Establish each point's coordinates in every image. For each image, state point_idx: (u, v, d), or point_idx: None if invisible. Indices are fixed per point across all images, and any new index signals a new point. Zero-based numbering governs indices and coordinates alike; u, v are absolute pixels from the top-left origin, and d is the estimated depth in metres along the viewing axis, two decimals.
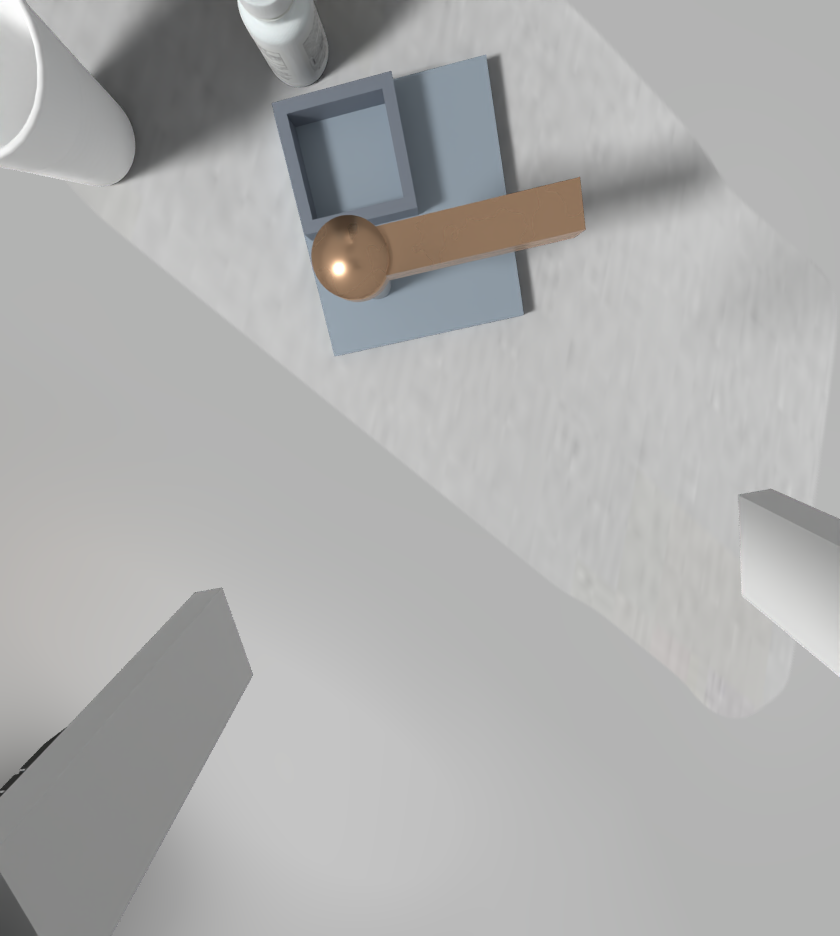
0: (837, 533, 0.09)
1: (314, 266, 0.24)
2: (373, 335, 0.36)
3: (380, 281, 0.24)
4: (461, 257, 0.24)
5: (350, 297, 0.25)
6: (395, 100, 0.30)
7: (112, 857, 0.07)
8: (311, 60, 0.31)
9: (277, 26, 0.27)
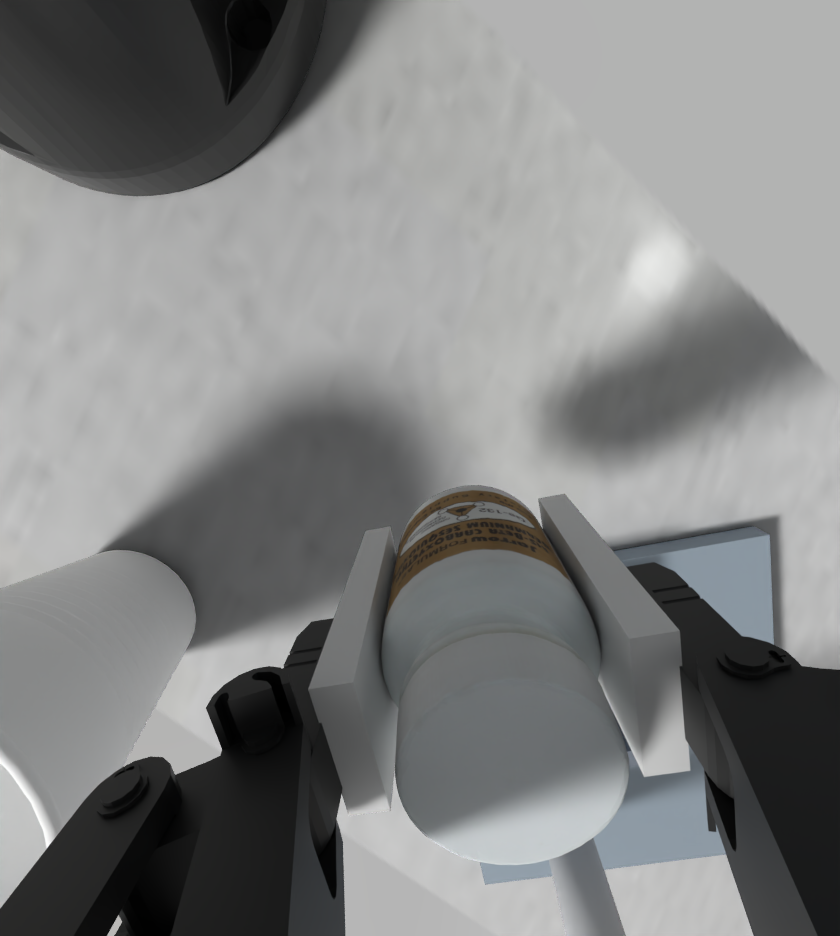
0: (572, 529, 0.11)
1: None
2: (546, 863, 0.24)
3: None
4: None
5: None
6: None
7: (386, 714, 0.09)
8: None
9: None
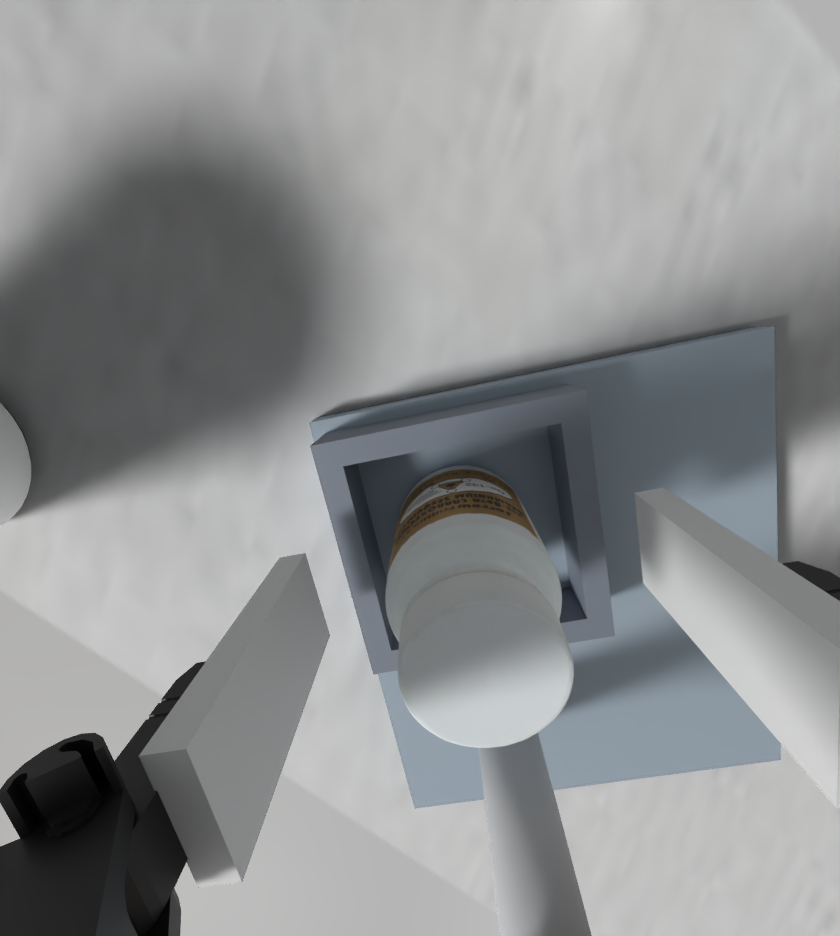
0: (695, 525, 0.10)
1: None
2: None
3: None
4: None
5: None
6: (588, 445, 0.14)
7: (254, 770, 0.08)
8: None
9: None
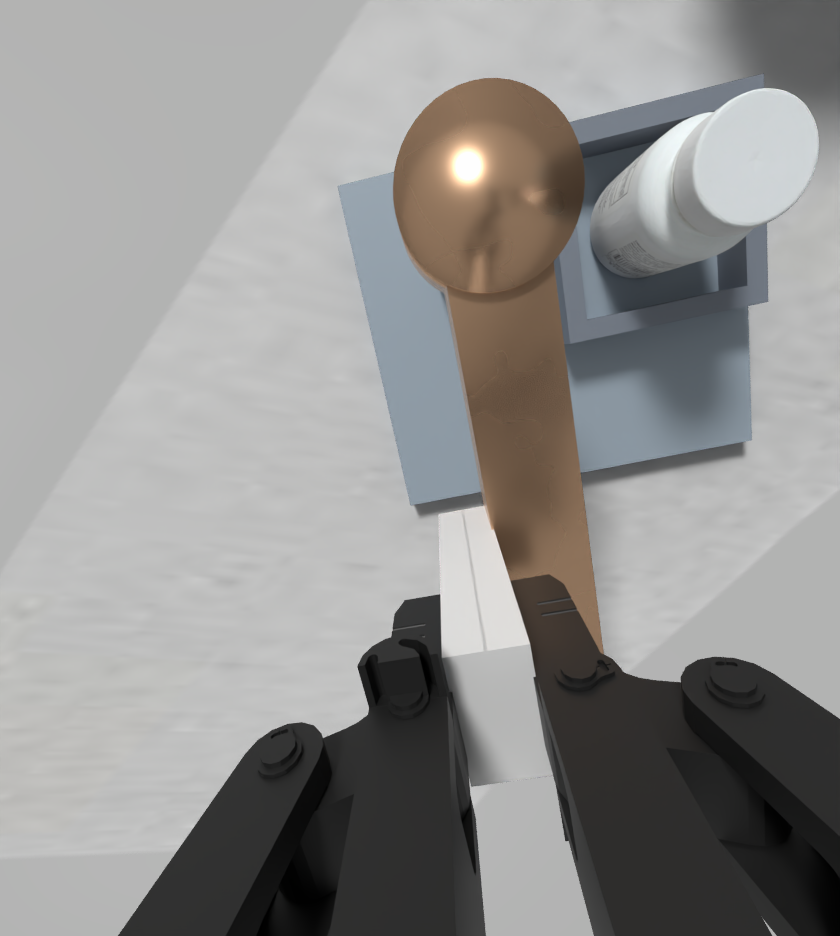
0: (479, 542, 0.11)
1: (470, 86, 0.09)
2: (375, 263, 0.21)
3: (432, 271, 0.10)
4: (479, 455, 0.12)
5: (396, 189, 0.10)
6: (726, 308, 0.19)
7: None
8: (617, 252, 0.19)
9: (663, 194, 0.15)
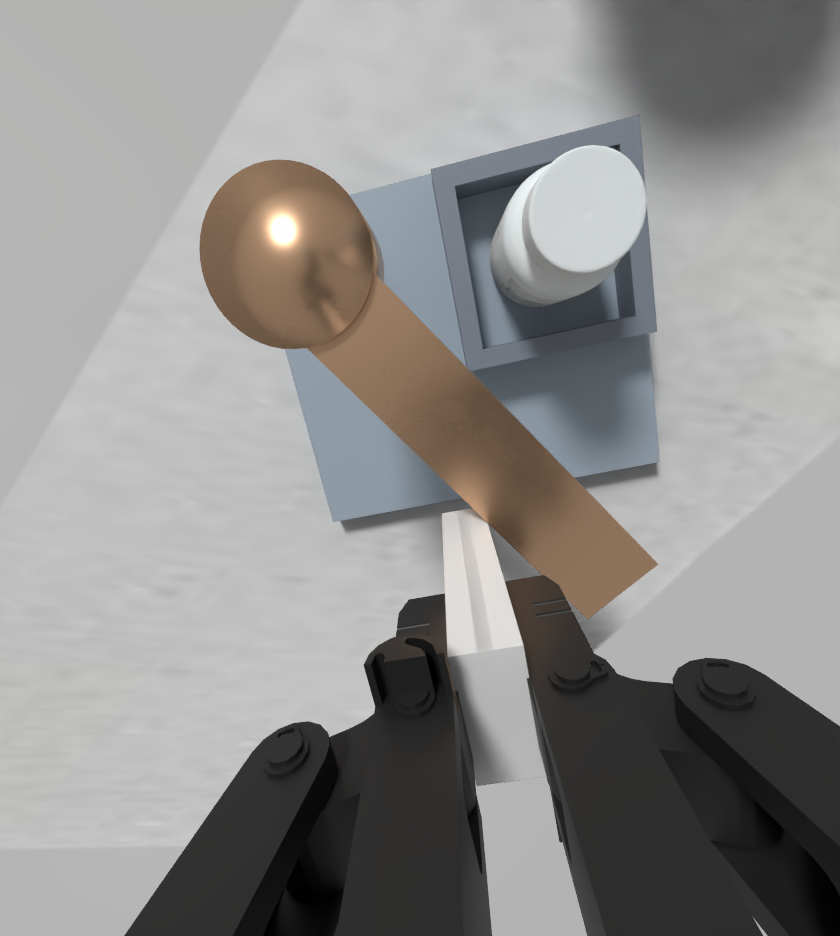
0: (474, 543, 0.11)
1: (220, 195, 0.10)
2: None
3: (288, 346, 0.11)
4: (425, 460, 0.12)
5: (221, 307, 0.11)
6: (617, 337, 0.20)
7: None
8: (506, 285, 0.19)
9: (522, 237, 0.16)
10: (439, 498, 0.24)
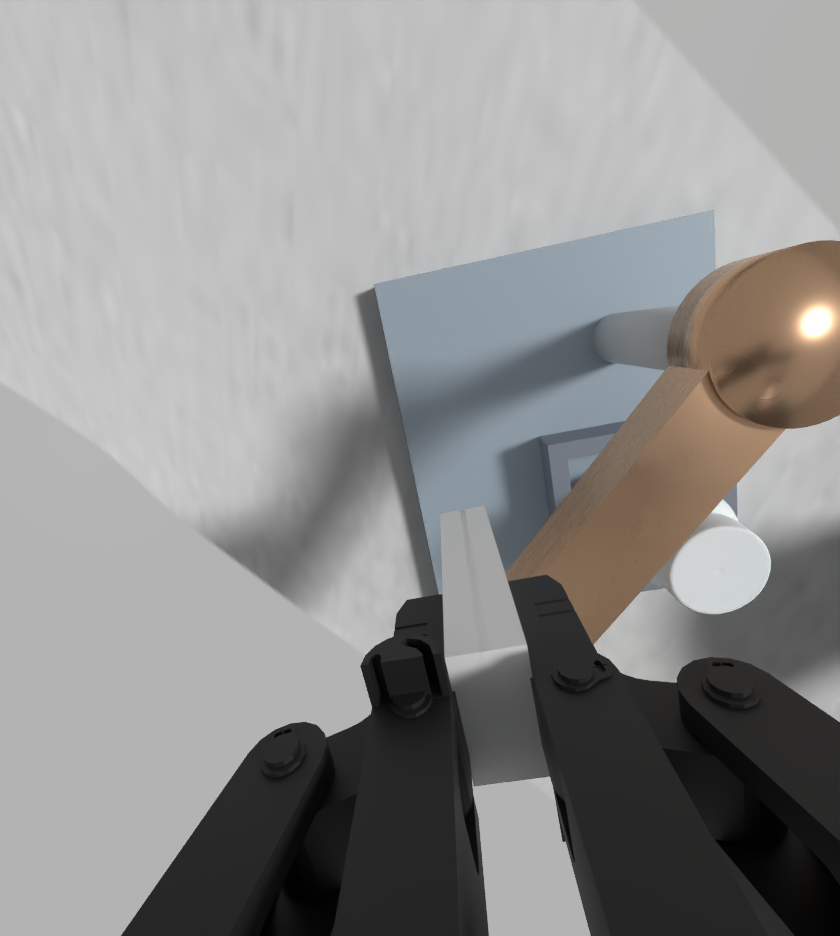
0: (476, 542, 0.11)
1: None
2: (634, 249, 0.21)
3: (715, 353, 0.10)
4: (598, 508, 0.12)
5: (755, 272, 0.10)
6: None
7: None
8: None
9: None
10: (404, 408, 0.23)
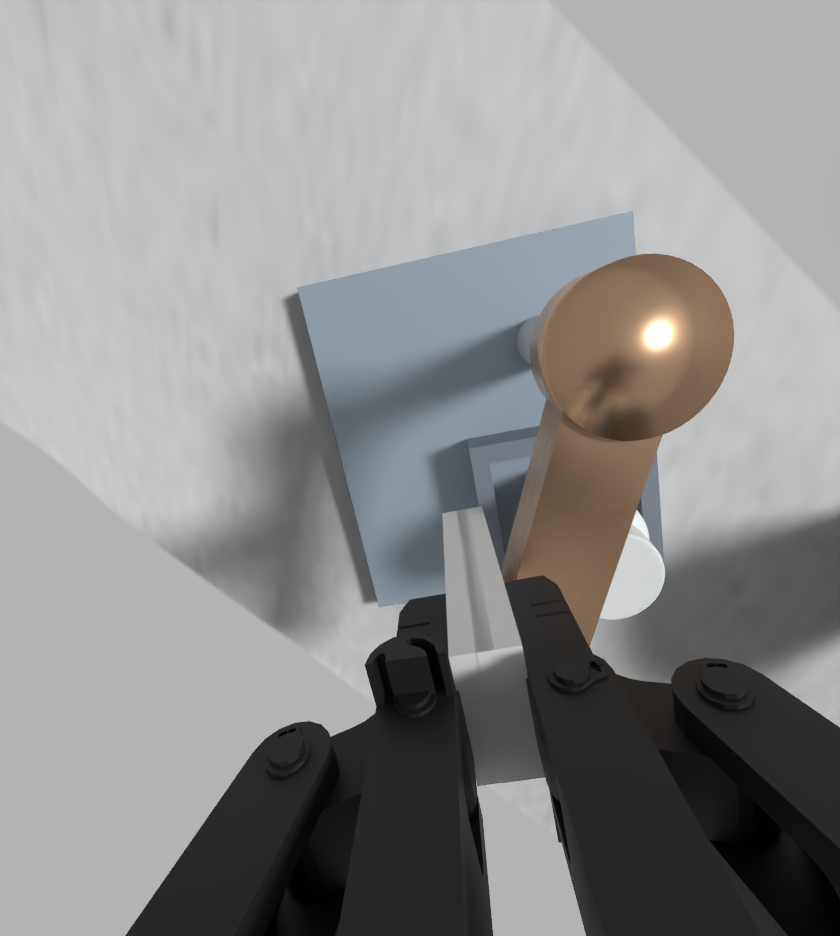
0: (473, 543, 0.11)
1: (666, 260, 0.10)
2: (554, 251, 0.20)
3: (558, 397, 0.11)
4: (522, 562, 0.12)
5: (559, 315, 0.10)
6: None
7: None
8: None
9: None
10: (333, 411, 0.23)
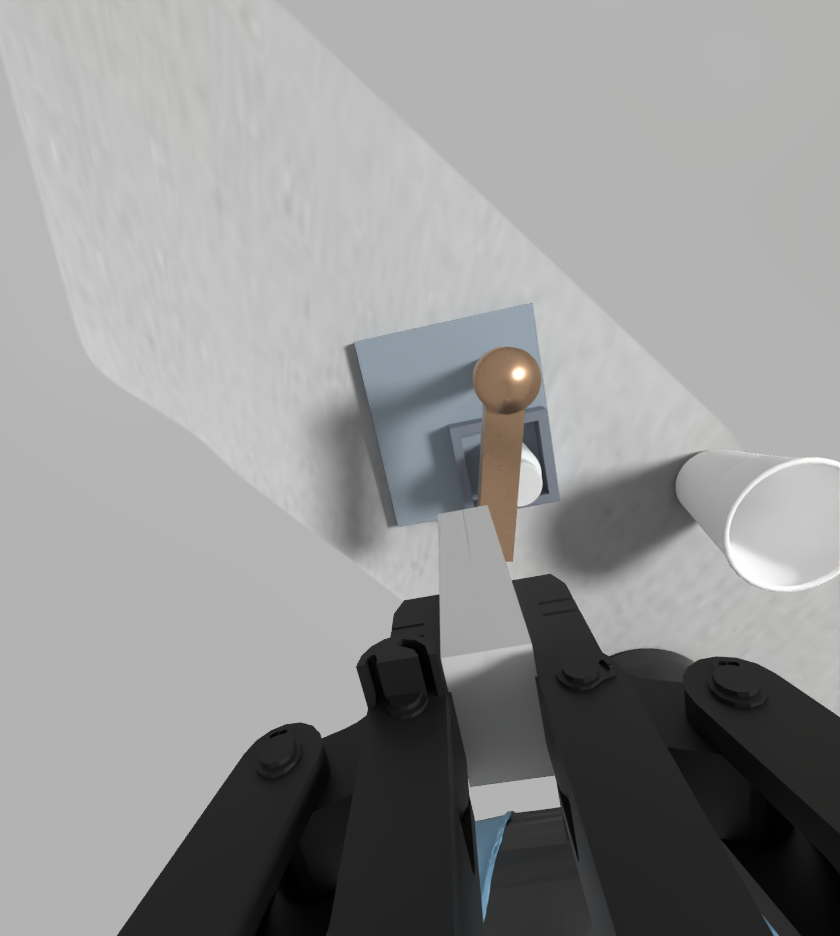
0: (480, 541, 0.11)
1: (509, 348, 0.28)
2: (493, 323, 0.38)
3: (482, 402, 0.29)
4: (482, 469, 0.30)
5: (477, 373, 0.28)
6: (464, 500, 0.40)
7: None
8: None
9: None
10: (372, 409, 0.41)
